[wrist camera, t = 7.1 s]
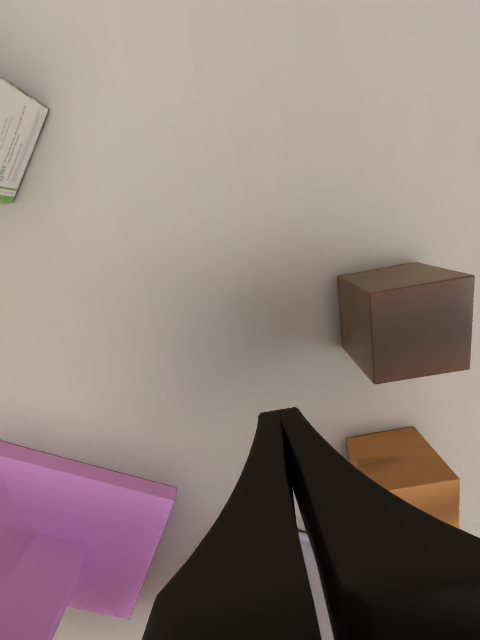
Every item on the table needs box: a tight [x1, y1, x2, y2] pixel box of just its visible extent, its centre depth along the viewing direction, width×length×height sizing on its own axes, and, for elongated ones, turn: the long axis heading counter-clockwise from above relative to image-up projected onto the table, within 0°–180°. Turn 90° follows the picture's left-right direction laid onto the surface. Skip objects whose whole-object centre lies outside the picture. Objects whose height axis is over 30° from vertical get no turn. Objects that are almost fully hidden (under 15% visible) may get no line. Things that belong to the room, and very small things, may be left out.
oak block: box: [347, 427, 460, 529], centre depth 22 cm, size 5×5×5 cm
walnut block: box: [337, 262, 475, 384], centre depth 18 cm, size 5×5×5 cm
